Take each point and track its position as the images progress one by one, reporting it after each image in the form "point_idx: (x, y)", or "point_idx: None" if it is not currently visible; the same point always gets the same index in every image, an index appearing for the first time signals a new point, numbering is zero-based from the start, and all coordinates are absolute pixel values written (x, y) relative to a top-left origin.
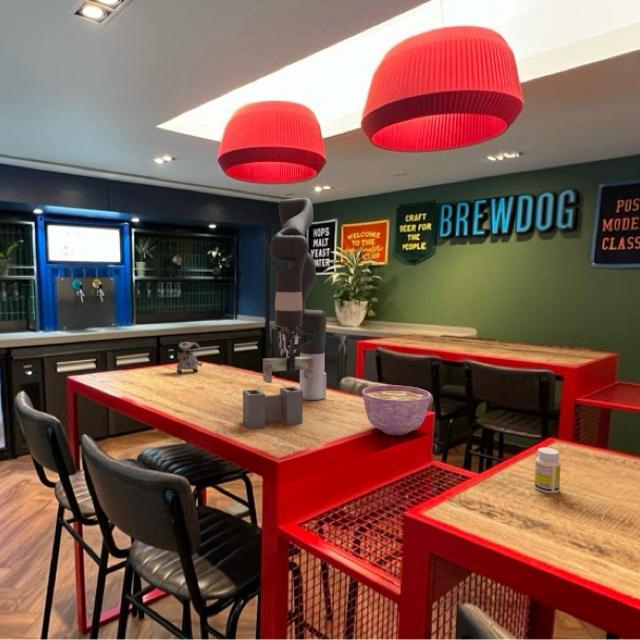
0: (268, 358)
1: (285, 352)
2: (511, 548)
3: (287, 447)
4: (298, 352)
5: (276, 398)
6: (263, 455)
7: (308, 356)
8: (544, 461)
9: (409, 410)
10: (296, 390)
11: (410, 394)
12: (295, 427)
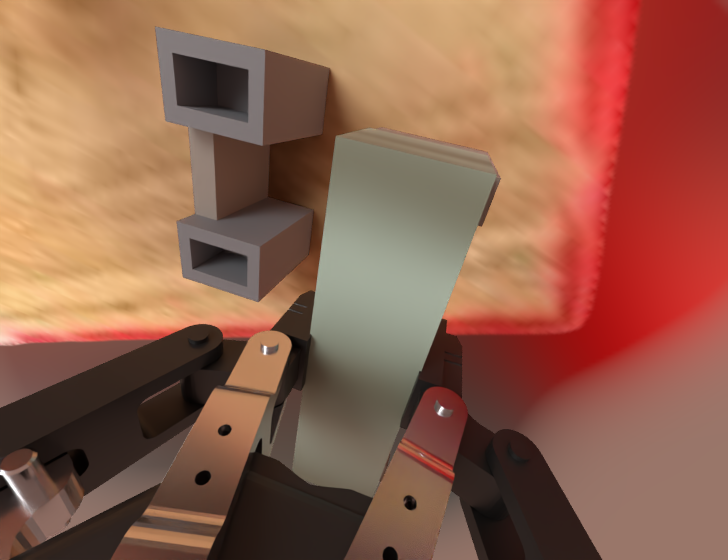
0: (297, 455)
1: (279, 394)
2: None
3: (508, 257)
4: (561, 498)
5: (221, 151)
6: (512, 332)
7: (343, 145)
8: None
9: None
10: (226, 64)
11: None
12: (361, 124)
